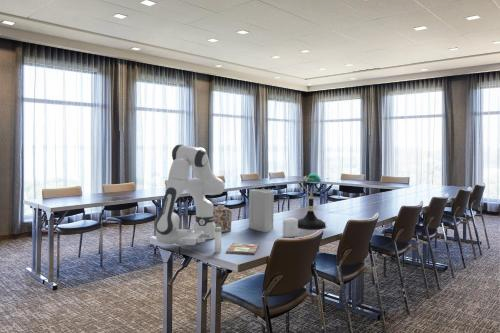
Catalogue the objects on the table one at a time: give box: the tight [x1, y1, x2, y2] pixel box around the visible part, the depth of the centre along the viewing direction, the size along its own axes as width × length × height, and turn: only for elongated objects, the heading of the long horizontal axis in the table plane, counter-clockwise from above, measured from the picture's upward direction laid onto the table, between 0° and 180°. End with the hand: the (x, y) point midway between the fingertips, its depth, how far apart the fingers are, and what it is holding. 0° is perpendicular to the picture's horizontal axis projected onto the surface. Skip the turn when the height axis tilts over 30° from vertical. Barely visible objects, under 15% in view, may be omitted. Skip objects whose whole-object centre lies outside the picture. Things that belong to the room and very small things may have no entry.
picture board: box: [225, 242, 260, 256], centre depth 224 cm, size 18×16×1 cm
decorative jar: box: [213, 204, 233, 233], centre depth 272 cm, size 12×12×18 cm
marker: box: [214, 227, 222, 254], centre depth 218 cm, size 4×4×14 cm
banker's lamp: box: [297, 172, 327, 230], centre depth 292 cm, size 26×23×40 cm
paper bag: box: [248, 188, 275, 233], centre depth 281 cm, size 19×15×28 cm
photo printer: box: [282, 217, 299, 238], centre depth 258 cm, size 10×4×12 cm, turn 113°
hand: (207, 238), depth 219 cm, fingers open, 8 cm apart
